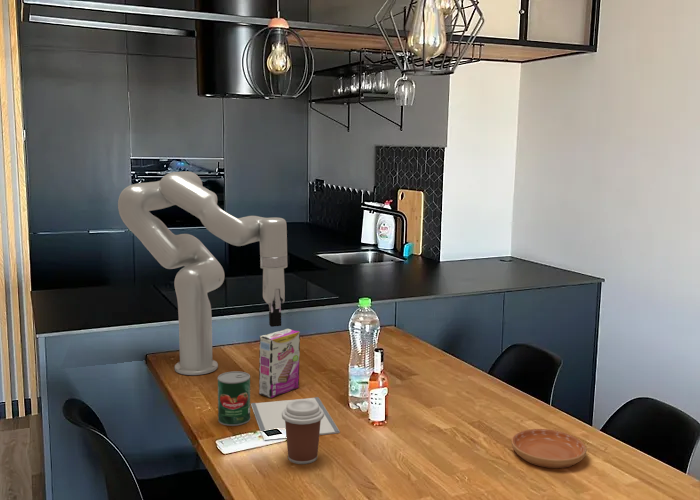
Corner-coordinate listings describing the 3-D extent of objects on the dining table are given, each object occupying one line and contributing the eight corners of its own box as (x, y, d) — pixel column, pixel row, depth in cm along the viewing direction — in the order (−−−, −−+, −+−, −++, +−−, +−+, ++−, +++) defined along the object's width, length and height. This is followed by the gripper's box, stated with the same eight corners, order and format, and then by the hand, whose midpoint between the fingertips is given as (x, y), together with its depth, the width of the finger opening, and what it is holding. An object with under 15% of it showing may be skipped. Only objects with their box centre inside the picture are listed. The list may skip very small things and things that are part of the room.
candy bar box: (271, 399, 182) (271, 339, 179) (258, 394, 185) (258, 336, 183) (300, 387, 191) (300, 330, 188) (287, 383, 194) (287, 327, 191)
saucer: (497, 456, 152) (498, 443, 151) (532, 433, 163) (533, 422, 163) (565, 480, 141) (566, 467, 141) (597, 455, 153) (598, 442, 152)
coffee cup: (332, 457, 149) (332, 405, 147) (300, 471, 143) (300, 417, 141) (305, 444, 156) (305, 393, 154) (273, 456, 150) (272, 404, 148)
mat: (250, 405, 178) (250, 403, 178) (318, 398, 183) (318, 397, 183) (263, 441, 157) (263, 438, 157) (339, 432, 162) (339, 430, 162)
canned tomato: (225, 428, 164) (225, 384, 162) (213, 417, 170) (212, 374, 168) (256, 421, 168) (255, 378, 166) (242, 410, 174) (241, 369, 173)
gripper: (256, 258, 198) (258, 320, 201) (264, 267, 184) (266, 333, 187) (282, 257, 200) (283, 318, 203) (292, 265, 186) (293, 331, 189)
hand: (275, 325), depth 195 cm, fingers closed
